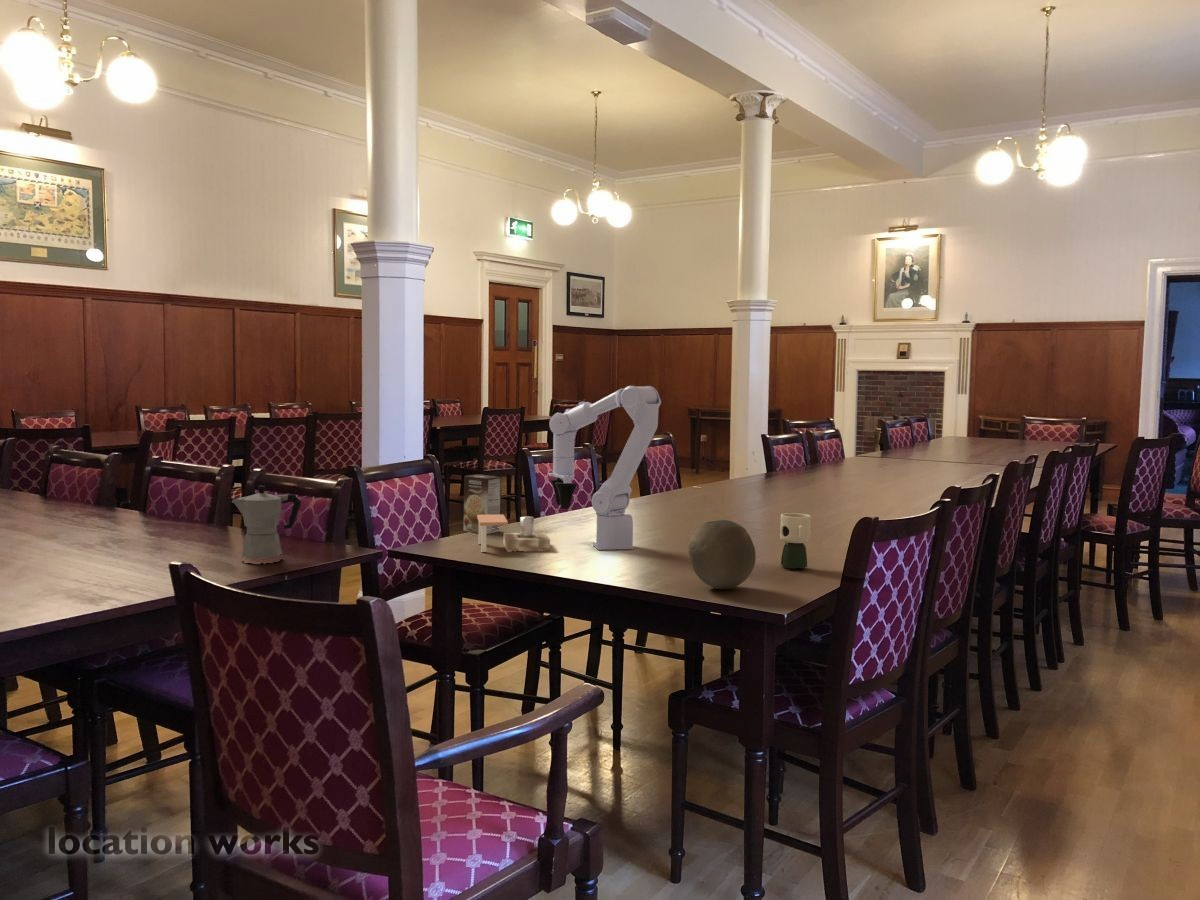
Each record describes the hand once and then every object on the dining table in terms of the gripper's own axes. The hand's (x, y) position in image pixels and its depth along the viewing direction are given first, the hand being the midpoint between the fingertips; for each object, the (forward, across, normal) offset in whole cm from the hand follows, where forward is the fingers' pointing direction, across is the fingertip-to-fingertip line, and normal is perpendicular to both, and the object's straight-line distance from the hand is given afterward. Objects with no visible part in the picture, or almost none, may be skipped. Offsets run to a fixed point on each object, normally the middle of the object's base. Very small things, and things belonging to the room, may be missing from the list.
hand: (562, 506), depth 249 cm
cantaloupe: (+10, +62, +24) cm, 67 cm away
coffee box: (+10, -17, -21) cm, 29 cm away
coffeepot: (+10, +19, -74) cm, 77 cm away
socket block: (+9, +9, -11) cm, 17 cm away
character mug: (+10, +42, +49) cm, 66 cm away
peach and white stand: (+9, +9, -20) cm, 24 cm away
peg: (+9, +9, -11) cm, 17 cm away
